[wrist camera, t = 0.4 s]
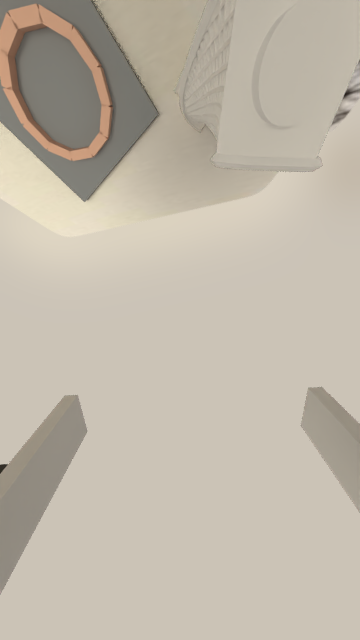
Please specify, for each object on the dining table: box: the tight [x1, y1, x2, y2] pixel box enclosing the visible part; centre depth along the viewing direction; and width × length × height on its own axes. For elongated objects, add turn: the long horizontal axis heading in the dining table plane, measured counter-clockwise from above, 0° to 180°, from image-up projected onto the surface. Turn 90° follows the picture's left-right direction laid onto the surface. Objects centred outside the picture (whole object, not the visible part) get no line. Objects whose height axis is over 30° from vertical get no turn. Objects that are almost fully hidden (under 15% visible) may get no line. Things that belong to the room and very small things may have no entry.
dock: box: [0, 0, 158, 202], centre depth 23 cm, size 16×16×3 cm
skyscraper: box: [174, 0, 360, 172], centre depth 15 cm, size 8×8×28 cm
